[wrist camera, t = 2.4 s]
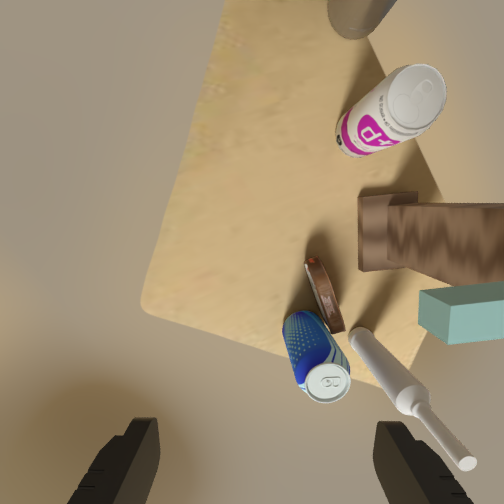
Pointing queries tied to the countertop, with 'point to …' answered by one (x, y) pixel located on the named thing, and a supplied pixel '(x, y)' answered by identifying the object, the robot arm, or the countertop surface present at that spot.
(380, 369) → the bottle
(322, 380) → the beer can
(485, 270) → the stand
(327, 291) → the tin
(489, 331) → the mallet
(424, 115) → the supplement can
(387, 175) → the countertop surface
